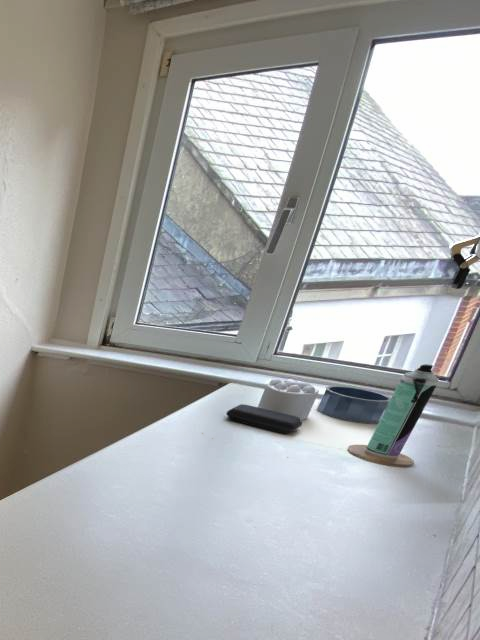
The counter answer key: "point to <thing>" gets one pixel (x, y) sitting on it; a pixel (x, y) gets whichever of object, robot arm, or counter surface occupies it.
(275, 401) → the white pebble pot
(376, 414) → the bowl
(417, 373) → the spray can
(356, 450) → the coaster
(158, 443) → the counter surface
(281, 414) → the carrying case
